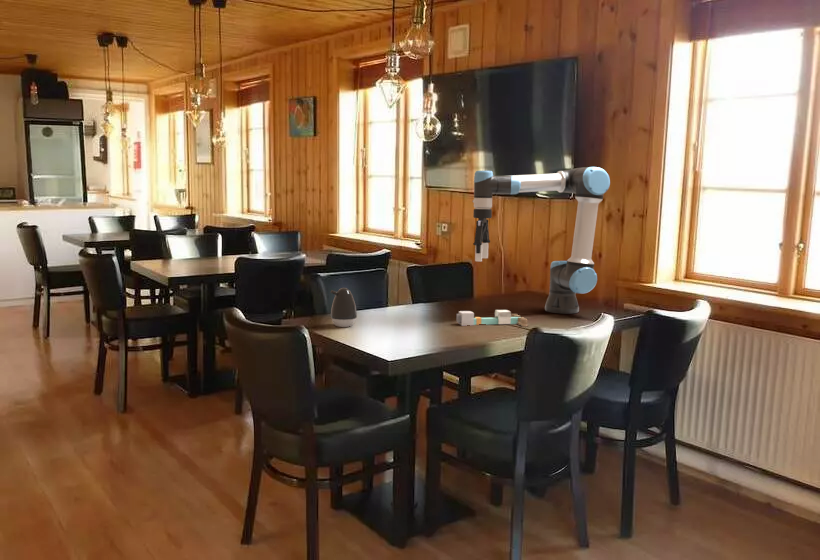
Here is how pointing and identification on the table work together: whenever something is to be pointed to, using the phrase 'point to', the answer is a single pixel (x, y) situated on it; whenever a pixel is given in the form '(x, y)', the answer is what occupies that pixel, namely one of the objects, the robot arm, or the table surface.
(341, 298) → the pump dispenser
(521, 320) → the comb
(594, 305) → the table surface
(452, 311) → the table surface
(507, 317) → the sleeve
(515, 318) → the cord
